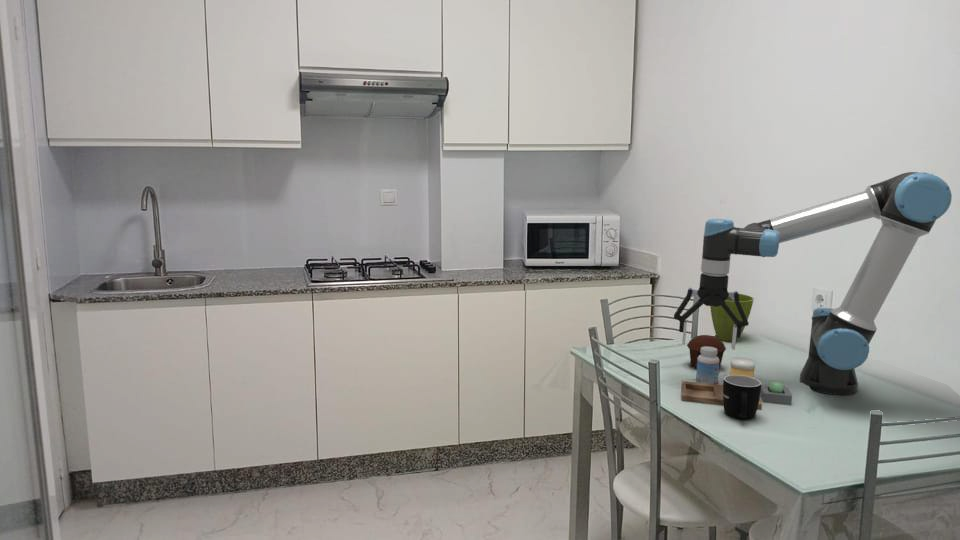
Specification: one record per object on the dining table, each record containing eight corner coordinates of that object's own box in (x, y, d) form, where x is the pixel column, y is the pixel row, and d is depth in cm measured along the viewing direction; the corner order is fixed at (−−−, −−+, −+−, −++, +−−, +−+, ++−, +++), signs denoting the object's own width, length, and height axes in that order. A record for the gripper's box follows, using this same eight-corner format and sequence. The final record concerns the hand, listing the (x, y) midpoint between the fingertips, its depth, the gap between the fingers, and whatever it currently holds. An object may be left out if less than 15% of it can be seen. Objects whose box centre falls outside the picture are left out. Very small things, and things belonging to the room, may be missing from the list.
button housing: (787, 399, 181) (788, 387, 180) (790, 408, 174) (792, 396, 174) (759, 396, 183) (760, 384, 182) (762, 405, 176) (763, 393, 176)
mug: (719, 409, 173) (722, 373, 171) (755, 413, 171) (758, 376, 169) (723, 427, 162) (726, 388, 160) (762, 431, 160) (765, 392, 158)
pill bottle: (719, 390, 188) (721, 352, 186) (696, 388, 189) (699, 350, 187) (715, 382, 194) (718, 346, 192) (694, 381, 195) (697, 345, 193)
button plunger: (781, 394, 179) (782, 381, 179) (783, 398, 176) (784, 386, 175) (768, 392, 180) (769, 380, 180) (769, 396, 177) (770, 384, 176)
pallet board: (756, 397, 182) (757, 388, 182) (760, 413, 171) (761, 404, 170) (681, 389, 188) (682, 380, 188) (681, 404, 177) (681, 395, 176)
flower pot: (744, 334, 246) (747, 293, 243) (755, 346, 231) (758, 301, 228) (702, 332, 248) (705, 291, 245) (711, 344, 233) (714, 300, 230)
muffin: (722, 363, 212) (724, 333, 210) (726, 374, 201) (729, 342, 200) (684, 360, 215) (686, 330, 213) (686, 370, 204) (688, 339, 202)
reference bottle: (751, 396, 180) (754, 358, 178) (753, 404, 174) (756, 365, 172) (727, 394, 182) (730, 356, 180) (728, 402, 176) (731, 363, 174)
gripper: (760, 274, 185) (753, 346, 189) (669, 268, 192) (663, 337, 196) (763, 279, 178) (755, 354, 182) (668, 272, 185) (663, 344, 189)
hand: (708, 345), depth 189 cm, fingers open, 13 cm apart
